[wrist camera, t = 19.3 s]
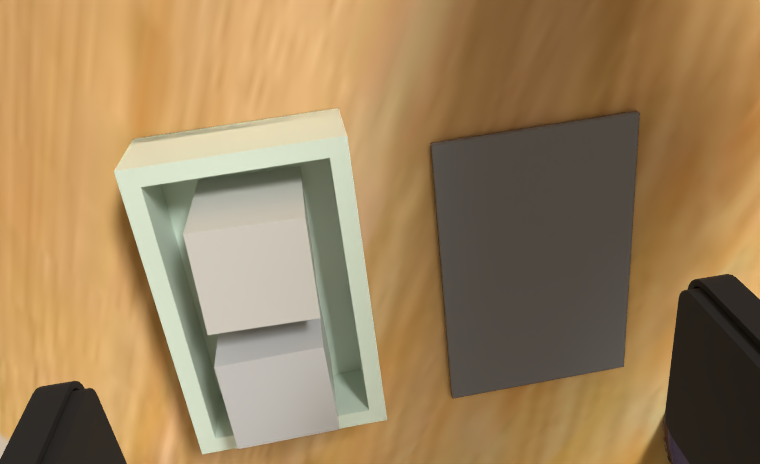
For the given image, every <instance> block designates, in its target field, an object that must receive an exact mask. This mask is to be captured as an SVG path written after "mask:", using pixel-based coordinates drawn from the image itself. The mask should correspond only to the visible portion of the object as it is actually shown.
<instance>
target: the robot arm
mask: <svg viewBox="0 0 760 464" xmlns="http://www.w3.org/2000/svg"><path fill="white" fill-rule="evenodd" d="M665 418H666V424H667V427H668V430H669V432H670V434H671V436H672V438H673V439H674V441H675V443H676V444H677V446H678V447H679V449H680V450H681V452H682V453H683V455H684V456H685V458H686V459H687V461H688V462H689V464H760V299H759V298H757V297H756V296H755V295H754V294H753V293H752V292H751V291H750V290H749V289H748V288H747V287H746V286H745V285H744V284H742V283H741V282H740V281H739V280H738V279H737V278H736V277H734V276H733V275H729V274H725V275H719V276H713V277H707V278H701V279H695V280H693V281H691V283H690V284H689V287H688V290H684V291H682V292H681V293H680V296H679V301H678V309H677V318H676V326H675V334H674V343H673V351H672V360H671V368H670V377H669V385H668V394H667V402H666V410H665ZM0 464H127V463H126V461H125V458H124V456H123V454H122V451H121V449H120V447H119V444H118V442H117V440H116V437H115V435H114V433H113V431H112V428H111V426H110V424H109V421H108V419H107V417H106V414H105V412H104V410H103V407H102V405H101V403H100V400H99V398H98V396H97V394H96V392H95V390H93V389H92V388H88V389H84V387H83V385H82V384H81V383H80V382H78V381H72V382H66V383H60V384H54V385H48V386H42V387H39V388H37V389H36V390H35V391H34V393H33V394H32V396H31V398H30V400H29V402H28V404H27V406H26V408H25V410H24V412H23V414H22V417H21V419H20V421H19V423H18V425H17V427H16V429H15V431H14V433H13V435H12V437H11V439H10V441H9V443H8V445H7V447H6V449H5V451H4V453H3V455H2V457H1V459H0Z"/></svg>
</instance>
